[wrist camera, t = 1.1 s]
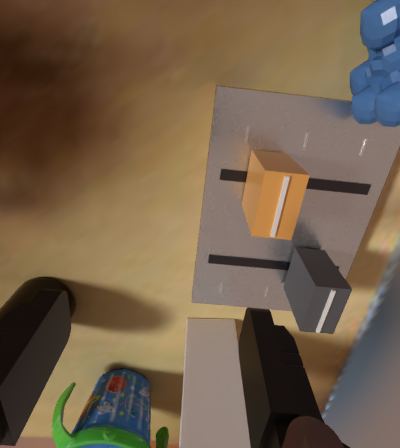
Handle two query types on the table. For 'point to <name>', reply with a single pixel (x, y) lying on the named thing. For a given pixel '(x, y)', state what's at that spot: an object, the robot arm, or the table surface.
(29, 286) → the supplement bottle
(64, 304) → the robot arm
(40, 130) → the table surface
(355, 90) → the grapes
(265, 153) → the orange fader
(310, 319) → the block
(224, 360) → the milk
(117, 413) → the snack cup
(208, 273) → the console
